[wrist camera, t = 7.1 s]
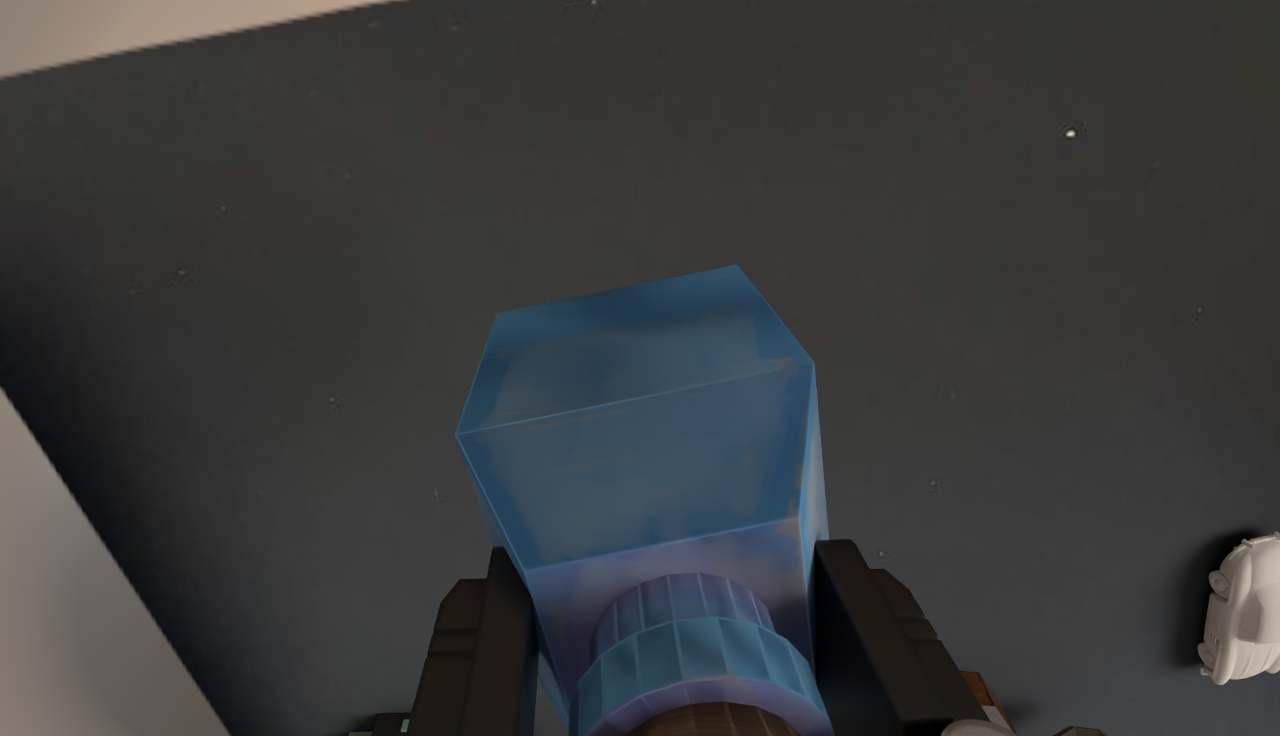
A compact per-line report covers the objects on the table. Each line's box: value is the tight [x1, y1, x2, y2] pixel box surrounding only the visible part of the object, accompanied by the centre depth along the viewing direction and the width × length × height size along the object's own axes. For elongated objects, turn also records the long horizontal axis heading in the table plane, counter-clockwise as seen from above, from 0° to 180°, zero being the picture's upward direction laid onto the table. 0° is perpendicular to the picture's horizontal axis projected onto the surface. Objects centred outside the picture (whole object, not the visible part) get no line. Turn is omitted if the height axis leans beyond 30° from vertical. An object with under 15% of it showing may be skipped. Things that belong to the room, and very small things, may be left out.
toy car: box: [1198, 532, 1280, 685], centre depth 43 cm, size 5×12×4 cm, turn 13°
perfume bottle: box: [455, 265, 835, 736], centre depth 13 cm, size 6×6×12 cm
